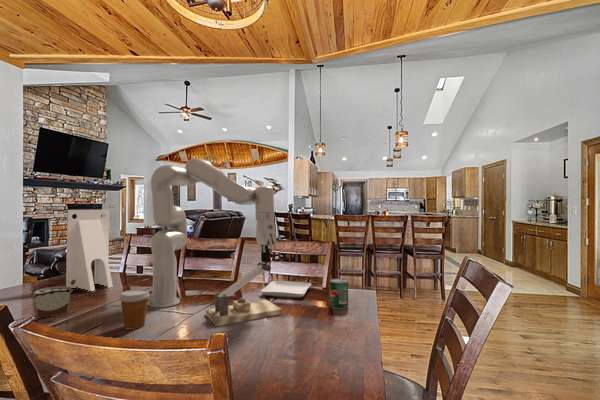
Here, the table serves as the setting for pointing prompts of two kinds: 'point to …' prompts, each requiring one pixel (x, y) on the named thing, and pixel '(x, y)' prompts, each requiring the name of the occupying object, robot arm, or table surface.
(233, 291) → the press lever
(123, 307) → the disposable coffee cup
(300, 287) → the salad plate
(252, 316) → the press base
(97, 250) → the white arched stand
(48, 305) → the food container
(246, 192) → the robot arm
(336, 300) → the canned tomato
